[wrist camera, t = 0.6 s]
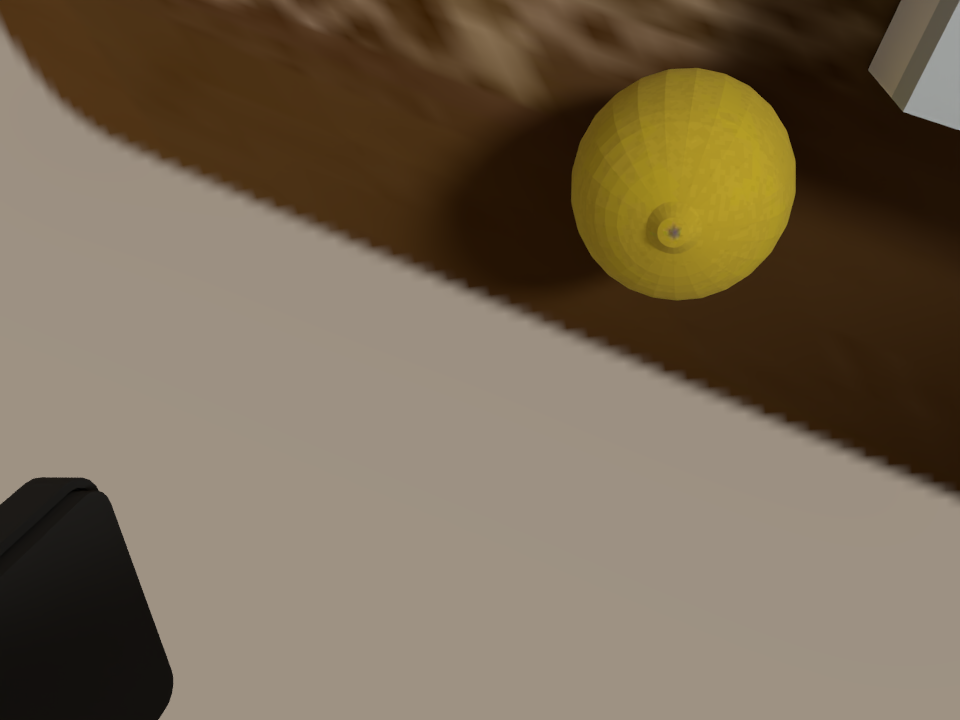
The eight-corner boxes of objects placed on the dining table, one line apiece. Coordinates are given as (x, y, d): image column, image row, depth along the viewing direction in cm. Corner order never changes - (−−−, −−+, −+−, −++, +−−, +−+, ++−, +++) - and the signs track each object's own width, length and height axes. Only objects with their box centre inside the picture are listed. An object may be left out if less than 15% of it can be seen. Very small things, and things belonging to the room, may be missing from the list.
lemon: (793, 223, 27) (816, 337, 20) (607, 246, 28) (568, 358, 21) (779, 29, 25) (799, 80, 18) (578, 67, 26) (525, 126, 19)
